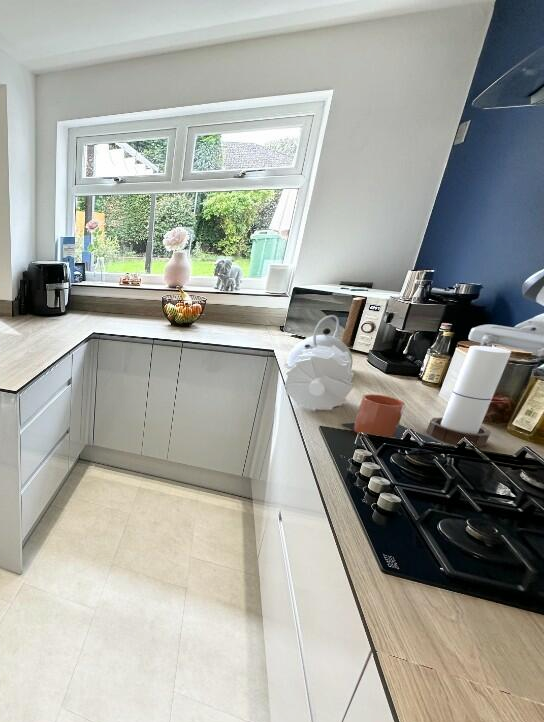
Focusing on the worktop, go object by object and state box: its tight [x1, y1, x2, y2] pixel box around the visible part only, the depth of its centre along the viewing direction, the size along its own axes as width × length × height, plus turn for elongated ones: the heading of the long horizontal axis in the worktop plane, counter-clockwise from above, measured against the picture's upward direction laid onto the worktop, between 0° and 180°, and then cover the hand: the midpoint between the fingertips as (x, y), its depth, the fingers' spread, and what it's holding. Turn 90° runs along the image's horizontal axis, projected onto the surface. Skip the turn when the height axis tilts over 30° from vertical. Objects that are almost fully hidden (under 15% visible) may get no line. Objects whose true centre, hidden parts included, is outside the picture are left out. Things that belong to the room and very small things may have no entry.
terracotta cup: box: [354, 393, 406, 437], centre depth 110 cm, size 9×9×10 cm
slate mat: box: [341, 422, 444, 444], centre depth 109 cm, size 18×16×1 cm
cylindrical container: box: [441, 345, 512, 434], centre depth 105 cm, size 7×7×25 cm
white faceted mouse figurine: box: [283, 345, 355, 412], centre depth 131 cm, size 18×18×25 cm
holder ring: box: [426, 416, 492, 448], centre depth 108 cm, size 11×11×4 cm
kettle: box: [286, 314, 354, 371], centre depth 166 cm, size 25×23×23 cm
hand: (509, 348), depth 103 cm, fingers open, 8 cm apart
